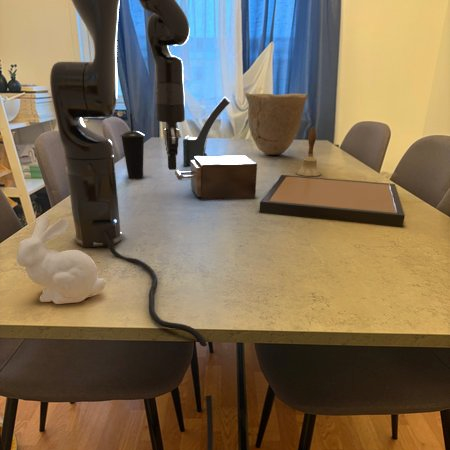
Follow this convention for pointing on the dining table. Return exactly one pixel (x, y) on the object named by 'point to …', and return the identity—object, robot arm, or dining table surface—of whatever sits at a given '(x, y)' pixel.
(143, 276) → the dining table surface
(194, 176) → the drawer
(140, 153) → the drinking cup
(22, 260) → the rabbit
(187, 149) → the dark grey curved piece
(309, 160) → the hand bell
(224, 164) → the cabinet
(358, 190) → the cork board
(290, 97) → the clay pot
